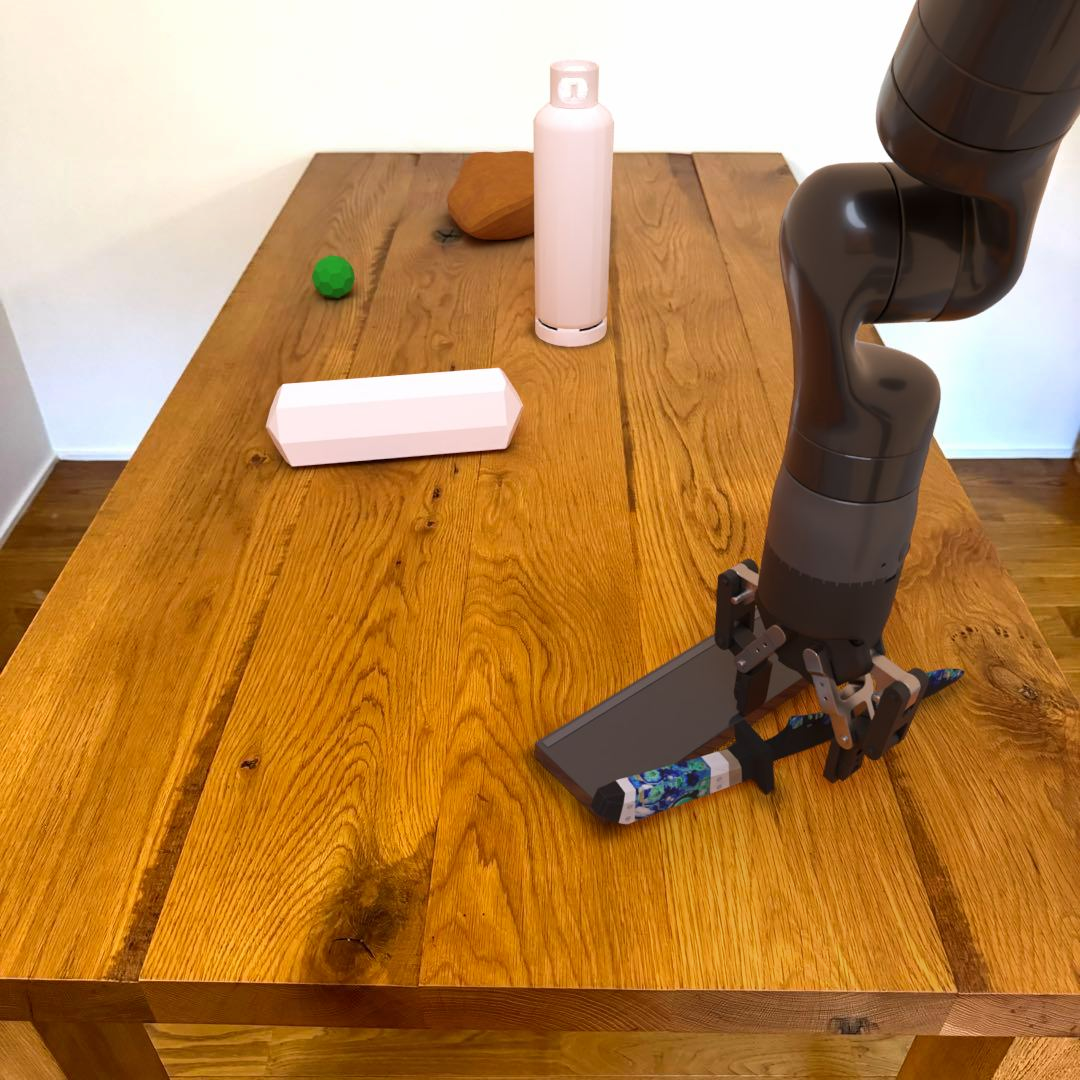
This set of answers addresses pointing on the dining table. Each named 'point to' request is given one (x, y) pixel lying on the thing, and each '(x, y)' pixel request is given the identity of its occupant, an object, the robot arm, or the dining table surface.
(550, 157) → the bottle
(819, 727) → the knife
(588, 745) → the slate board
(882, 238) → the robot arm
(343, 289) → the polyhedron
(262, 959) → the dining table surface
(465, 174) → the orange brown rock
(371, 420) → the crystal
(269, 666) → the dining table surface
